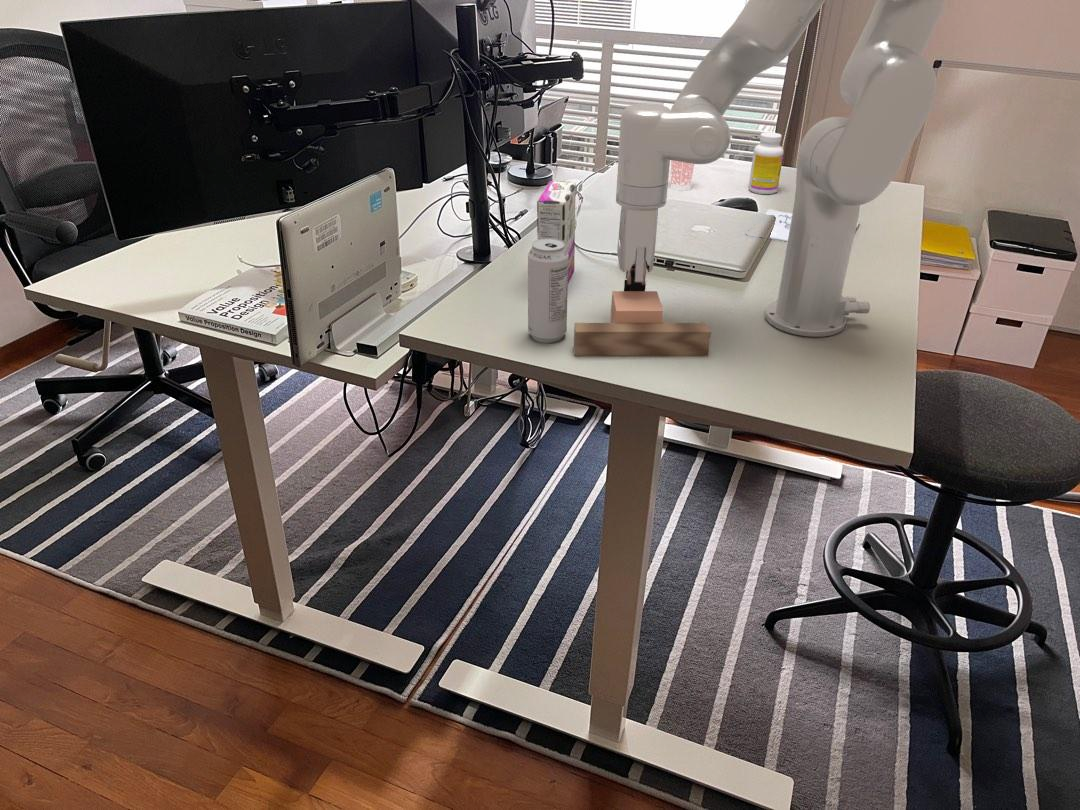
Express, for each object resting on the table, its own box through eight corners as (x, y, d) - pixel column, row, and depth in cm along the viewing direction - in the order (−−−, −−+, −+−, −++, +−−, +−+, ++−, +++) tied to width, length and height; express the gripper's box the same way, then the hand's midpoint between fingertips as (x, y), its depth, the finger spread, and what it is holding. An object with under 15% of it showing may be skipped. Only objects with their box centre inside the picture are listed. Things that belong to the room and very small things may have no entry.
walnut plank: (704, 346, 126) (707, 322, 124) (708, 355, 124) (711, 331, 122) (573, 346, 126) (574, 322, 124) (574, 355, 124) (575, 331, 122)
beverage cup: (694, 185, 197) (700, 124, 189) (692, 192, 192) (698, 130, 184) (668, 183, 198) (673, 122, 190) (665, 190, 193) (671, 129, 185)
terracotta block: (653, 325, 132) (656, 291, 129) (659, 346, 126) (663, 310, 123) (610, 325, 132) (612, 291, 129) (614, 346, 126) (616, 310, 123)
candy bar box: (548, 268, 152) (549, 179, 144) (574, 270, 152) (577, 181, 143) (535, 292, 143) (536, 199, 135) (564, 295, 142) (566, 201, 134)
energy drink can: (544, 323, 133) (545, 234, 125) (574, 334, 130) (577, 243, 122) (520, 336, 129) (519, 244, 121) (550, 348, 126) (551, 254, 118)
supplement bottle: (780, 195, 190) (789, 138, 184) (751, 195, 190) (759, 138, 184) (773, 186, 196) (782, 131, 189) (745, 186, 196) (753, 130, 189)
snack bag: (843, 255, 160) (845, 245, 159) (741, 238, 168) (742, 227, 167) (860, 226, 175) (863, 216, 173) (766, 211, 183) (767, 201, 182)
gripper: (613, 177, 129) (607, 285, 139) (619, 208, 117) (612, 325, 126) (661, 177, 129) (652, 286, 139) (673, 208, 117) (661, 326, 126)
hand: (633, 304), depth 133 cm, fingers closed
